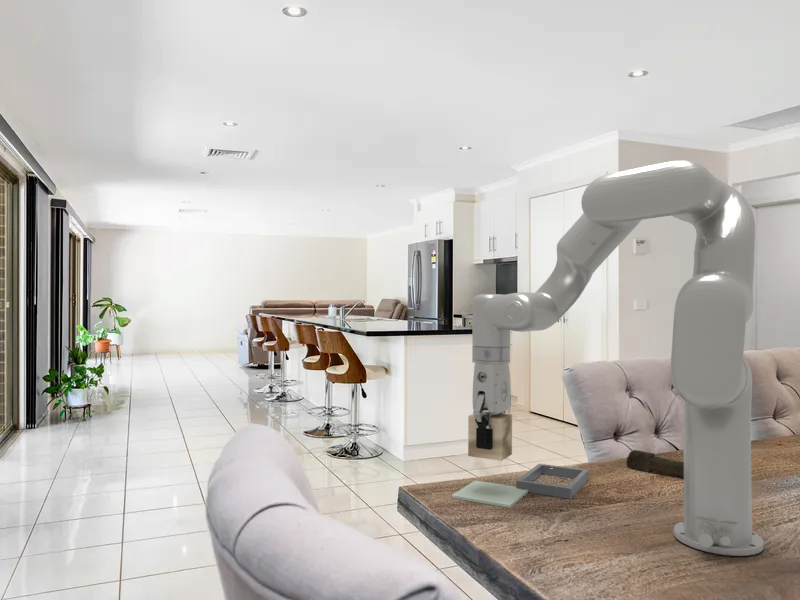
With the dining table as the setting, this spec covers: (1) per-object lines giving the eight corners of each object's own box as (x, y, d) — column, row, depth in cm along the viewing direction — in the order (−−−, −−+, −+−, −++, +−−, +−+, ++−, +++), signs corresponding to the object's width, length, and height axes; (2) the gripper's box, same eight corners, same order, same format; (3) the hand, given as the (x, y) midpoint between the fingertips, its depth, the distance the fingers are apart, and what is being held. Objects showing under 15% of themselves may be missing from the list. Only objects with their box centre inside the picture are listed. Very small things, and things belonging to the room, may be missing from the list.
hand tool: (717, 482, 128) (717, 461, 128) (711, 486, 125) (711, 464, 125) (632, 466, 141) (632, 447, 141) (624, 469, 138) (624, 449, 139)
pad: (510, 507, 110) (510, 505, 110) (451, 497, 116) (451, 495, 116) (529, 491, 120) (529, 488, 120) (474, 482, 126) (475, 480, 126)
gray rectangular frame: (570, 499, 115) (570, 488, 115) (516, 490, 121) (516, 480, 121) (588, 479, 129) (588, 469, 129) (538, 472, 135) (538, 463, 135)
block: (501, 460, 114) (501, 419, 114) (468, 456, 118) (468, 415, 118) (511, 454, 119) (512, 414, 120) (479, 450, 123) (479, 411, 123)
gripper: (493, 359, 110) (492, 456, 109) (522, 353, 125) (522, 439, 124) (456, 357, 113) (455, 451, 113) (489, 352, 128) (488, 435, 128)
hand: (490, 444), depth 119 cm, fingers closed on block, 6 cm apart
